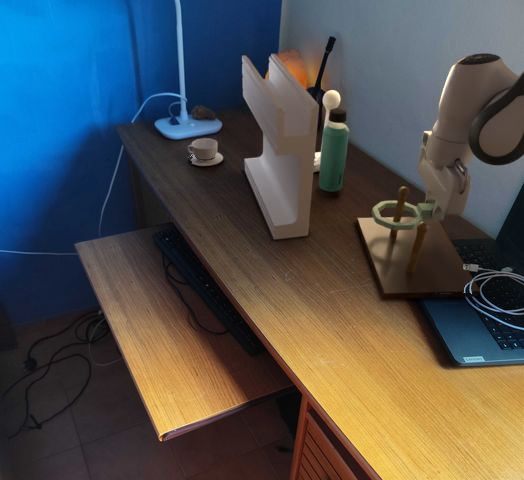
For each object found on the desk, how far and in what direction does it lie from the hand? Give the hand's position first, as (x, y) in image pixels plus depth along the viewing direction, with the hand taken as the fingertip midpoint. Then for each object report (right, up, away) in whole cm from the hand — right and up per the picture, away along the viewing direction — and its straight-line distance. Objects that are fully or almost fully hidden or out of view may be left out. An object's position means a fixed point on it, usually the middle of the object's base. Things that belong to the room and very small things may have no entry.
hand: (431, 212), depth 102 cm
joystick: (-21, +21, +29) cm, 41 cm away
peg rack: (-4, -10, 0) cm, 11 cm away
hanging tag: (-5, -1, +1) cm, 5 cm away
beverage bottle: (-19, +11, +20) cm, 30 cm away
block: (-34, +8, +17) cm, 39 cm away
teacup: (-53, +25, +33) cm, 67 cm away
